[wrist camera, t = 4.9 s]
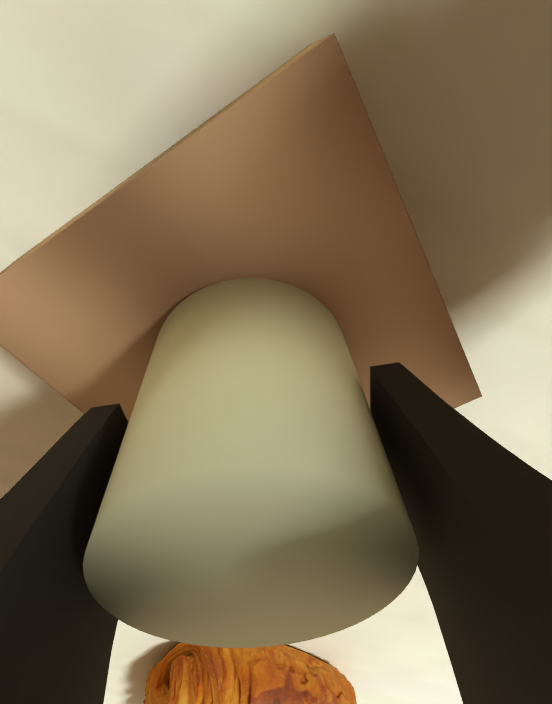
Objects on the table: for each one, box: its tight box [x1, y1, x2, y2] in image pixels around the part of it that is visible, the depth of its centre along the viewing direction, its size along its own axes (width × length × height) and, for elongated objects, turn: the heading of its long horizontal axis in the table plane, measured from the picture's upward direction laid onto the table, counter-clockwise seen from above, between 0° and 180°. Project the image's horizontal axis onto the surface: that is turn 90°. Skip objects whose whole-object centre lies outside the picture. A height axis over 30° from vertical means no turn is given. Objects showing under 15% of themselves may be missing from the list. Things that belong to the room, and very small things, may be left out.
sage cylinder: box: [83, 278, 419, 648], centre depth 9 cm, size 5×5×6 cm
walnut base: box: [0, 34, 482, 423], centre depth 12 cm, size 10×10×3 cm
